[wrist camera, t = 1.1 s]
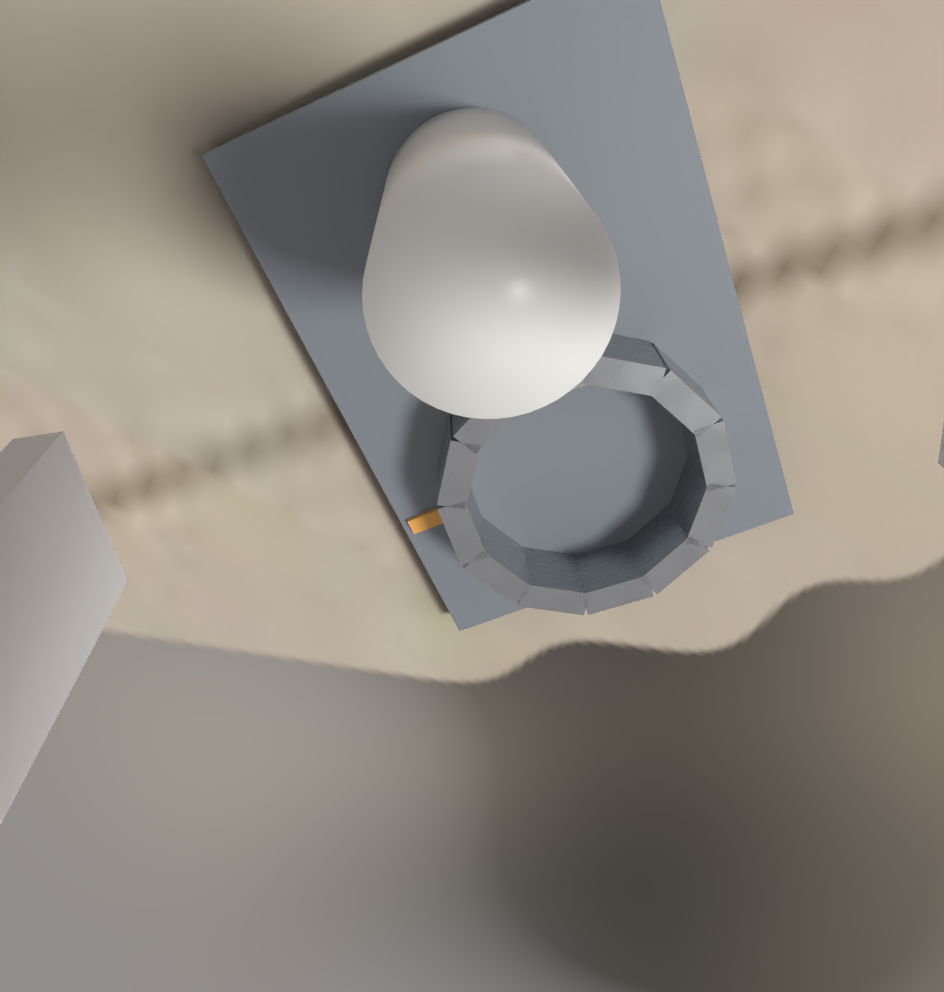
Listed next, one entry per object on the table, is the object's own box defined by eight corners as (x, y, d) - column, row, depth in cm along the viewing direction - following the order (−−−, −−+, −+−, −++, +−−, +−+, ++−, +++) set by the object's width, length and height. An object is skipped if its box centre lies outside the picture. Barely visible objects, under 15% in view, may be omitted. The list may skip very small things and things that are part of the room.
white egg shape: (399, 89, 25) (382, 138, 17) (580, 128, 26) (654, 195, 17) (371, 280, 28) (344, 407, 19) (535, 310, 29) (579, 446, 20)
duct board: (210, 149, 27) (200, 157, 26) (636, -52, 25) (647, -55, 24) (459, 613, 37) (459, 634, 35) (782, 498, 34) (795, 516, 33)
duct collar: (470, 307, 29) (473, 333, 27) (751, 360, 30) (776, 388, 28) (419, 553, 34) (418, 592, 31) (663, 589, 35) (678, 628, 33)
